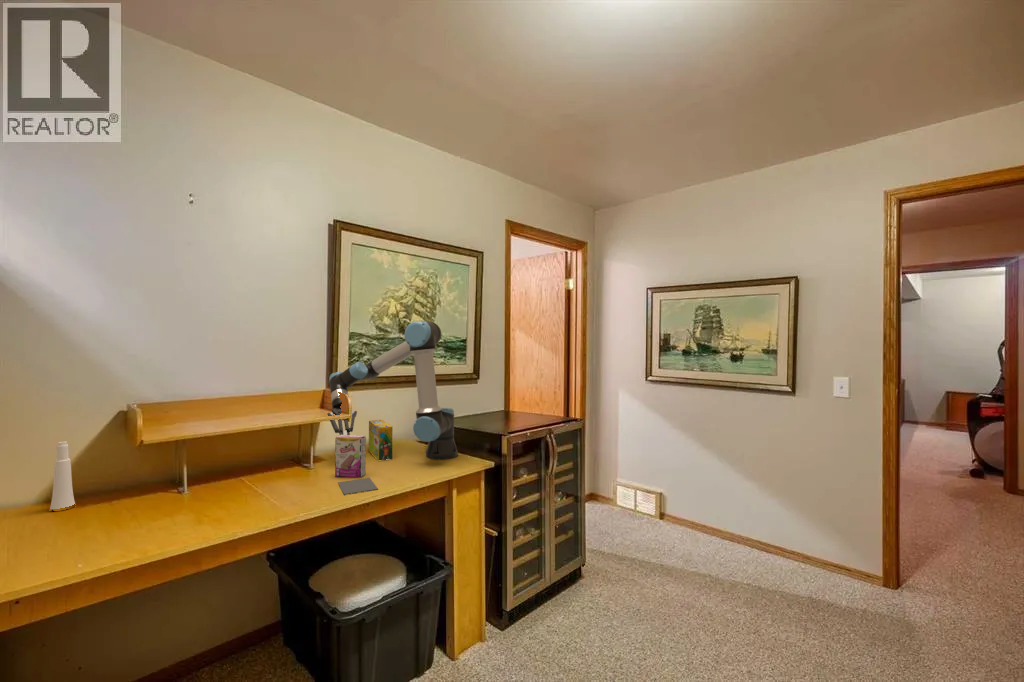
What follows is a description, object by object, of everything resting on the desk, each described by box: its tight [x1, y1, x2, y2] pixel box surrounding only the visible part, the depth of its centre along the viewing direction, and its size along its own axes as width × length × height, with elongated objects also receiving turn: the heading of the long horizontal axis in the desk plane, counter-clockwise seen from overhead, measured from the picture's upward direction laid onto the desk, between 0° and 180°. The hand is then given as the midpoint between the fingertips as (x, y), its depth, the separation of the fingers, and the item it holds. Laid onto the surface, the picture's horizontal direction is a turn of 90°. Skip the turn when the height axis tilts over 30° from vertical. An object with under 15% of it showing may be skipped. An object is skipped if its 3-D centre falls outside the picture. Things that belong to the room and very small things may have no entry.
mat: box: [337, 477, 379, 496], centre depth 170 cm, size 12×15×1 cm
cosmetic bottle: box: [49, 440, 76, 510], centre depth 147 cm, size 6×6×22 cm
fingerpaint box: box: [368, 419, 393, 461], centre depth 214 cm, size 19×7×16 cm, turn 32°
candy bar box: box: [334, 434, 367, 478], centre depth 183 cm, size 11×5×16 cm, turn 84°
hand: (346, 444), depth 191 cm, fingers closed
